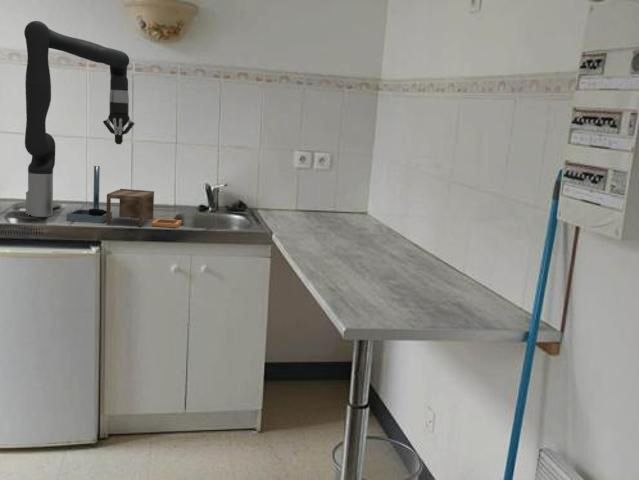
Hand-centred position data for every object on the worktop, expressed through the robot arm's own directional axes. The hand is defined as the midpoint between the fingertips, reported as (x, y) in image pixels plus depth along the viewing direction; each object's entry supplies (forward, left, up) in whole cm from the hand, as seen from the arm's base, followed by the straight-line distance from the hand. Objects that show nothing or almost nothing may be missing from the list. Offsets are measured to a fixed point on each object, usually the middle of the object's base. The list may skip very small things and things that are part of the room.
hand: (118, 144), depth 278 cm
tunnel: (+8, -12, -31) cm, 34 cm away
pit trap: (+23, -12, -31) cm, 40 cm away
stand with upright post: (-8, -12, -31) cm, 34 cm away
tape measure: (-3, -11, -30) cm, 32 cm away
